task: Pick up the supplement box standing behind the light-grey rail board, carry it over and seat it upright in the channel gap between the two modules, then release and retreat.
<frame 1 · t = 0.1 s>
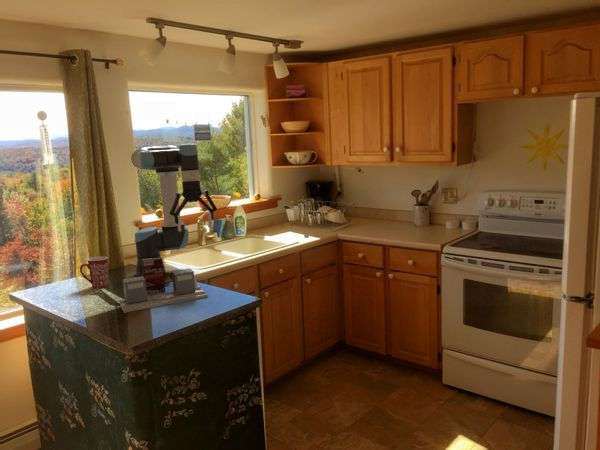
hand: (195, 229, 219), 28 cm above the table, fingers open, 13 cm apart
supplement box: (155, 293, 224), on the table
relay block: (189, 288, 229), on the table
mug: (96, 287, 241), on the table
rail base: (163, 300, 212), on the table
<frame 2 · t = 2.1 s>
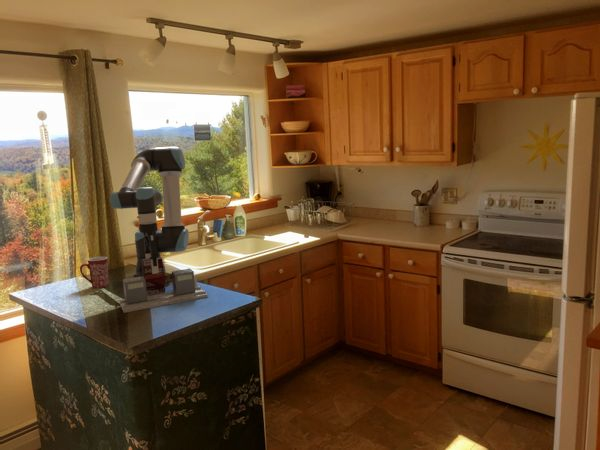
hand: (152, 270, 222), 11 cm above the table, fingers open, 13 cm apart
nothing on the table moved.
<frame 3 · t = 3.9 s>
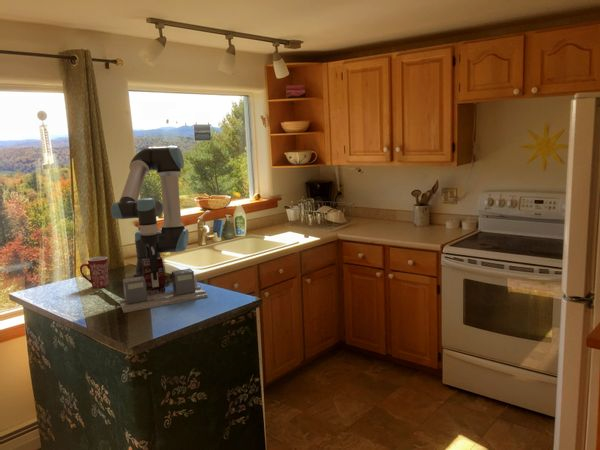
hand: (154, 285, 223), 4 cm above the table, fingers closed on supplement box, 5 cm apart
supplement box: (155, 293, 224), on the table, touching gripper
everything else where it was.
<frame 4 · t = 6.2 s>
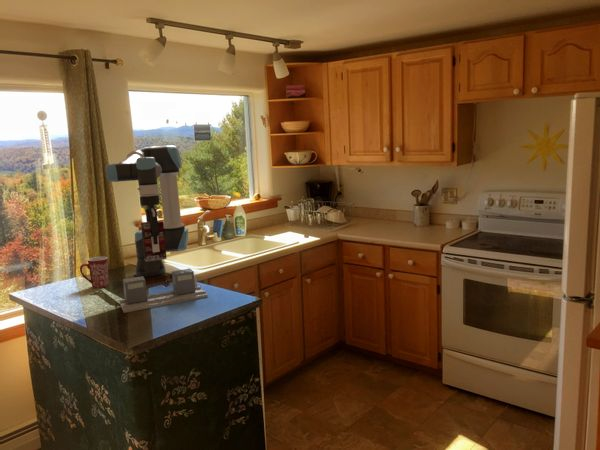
hand: (154, 250, 210), 21 cm above the table, fingers closed on supplement box, 5 cm apart
supplement box: (155, 260, 210), point 18 cm above the table, touching gripper
everything else where it was.
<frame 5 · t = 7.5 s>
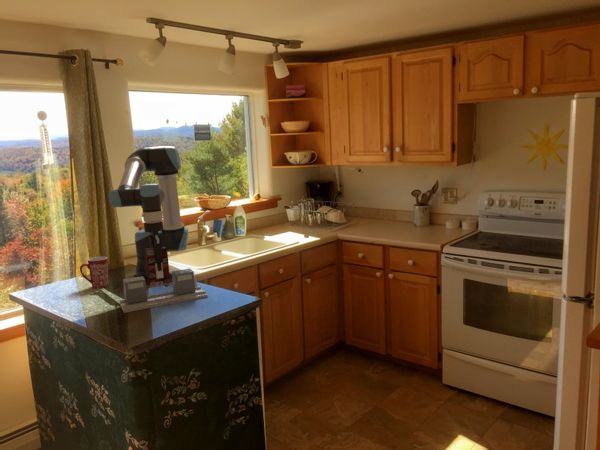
hand: (158, 276, 210), 11 cm above the table, fingers closed on supplement box, 5 cm apart
supplement box: (159, 285, 211), point 7 cm above the table, touching gripper
everything else where it was.
when the fingers open (6 cm above the table, at t = 8.8 s): supplement box stays where it is, resting on rail base.
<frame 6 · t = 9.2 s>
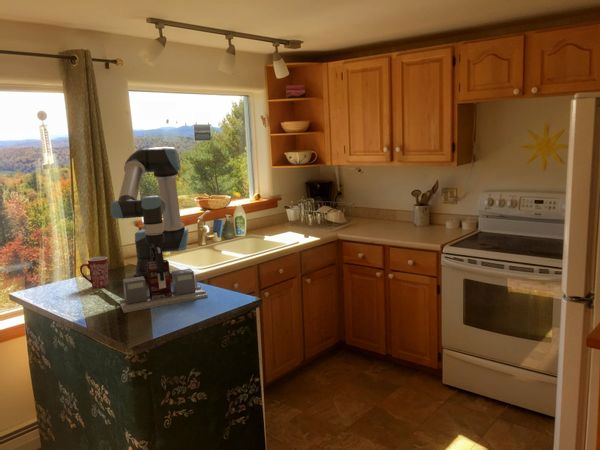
hand: (159, 284, 211), 7 cm above the table, fingers open, 11 cm apart
supplement box: (161, 298, 212), point 1 cm above the table, touching rail base
everything else where it was.
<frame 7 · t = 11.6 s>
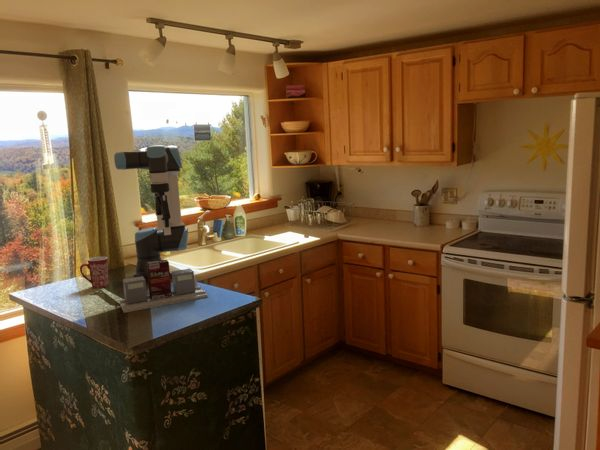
hand: (164, 232, 216), 28 cm above the table, fingers open, 13 cm apart
nothing on the table moved.
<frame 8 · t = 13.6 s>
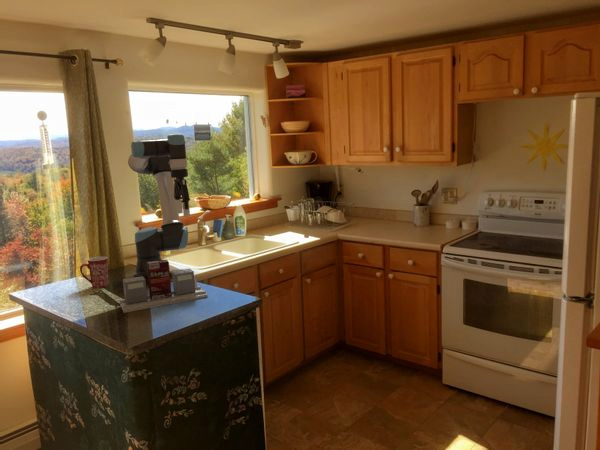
hand: (183, 215, 231), 33 cm above the table, fingers open, 13 cm apart
nothing on the table moved.
at the end: supplement box inside the target area on the rail base (0.1 cm from its centre), point 1.0 cm above the rail base's base; supplement box tilted 0°; the gripper is holding nothing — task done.
